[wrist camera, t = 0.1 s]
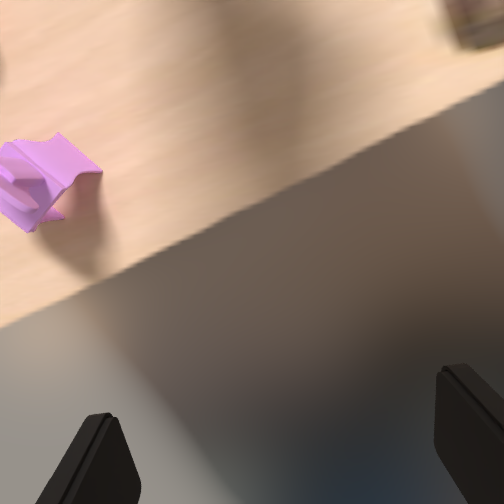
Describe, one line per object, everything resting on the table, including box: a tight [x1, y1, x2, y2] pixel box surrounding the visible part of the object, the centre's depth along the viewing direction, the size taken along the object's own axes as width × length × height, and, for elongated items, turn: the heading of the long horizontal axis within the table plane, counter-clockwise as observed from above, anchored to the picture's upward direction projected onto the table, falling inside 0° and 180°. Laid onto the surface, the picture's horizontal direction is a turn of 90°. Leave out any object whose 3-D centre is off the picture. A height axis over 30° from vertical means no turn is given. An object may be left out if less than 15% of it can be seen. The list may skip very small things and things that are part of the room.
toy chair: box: [0, 132, 102, 233], centre depth 32 cm, size 8×9×15 cm
